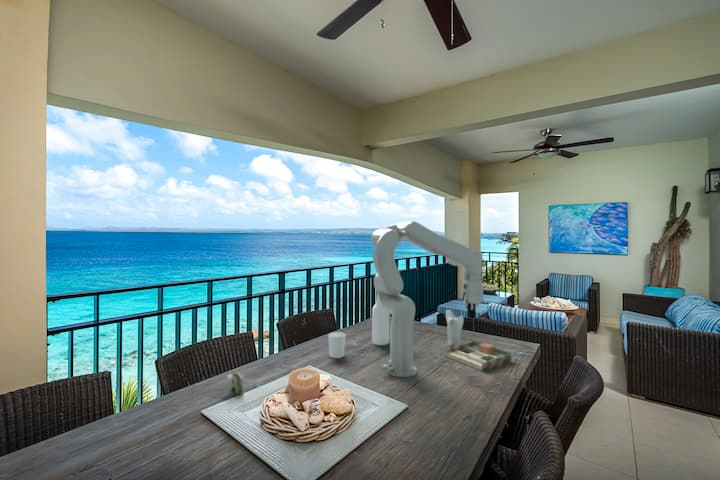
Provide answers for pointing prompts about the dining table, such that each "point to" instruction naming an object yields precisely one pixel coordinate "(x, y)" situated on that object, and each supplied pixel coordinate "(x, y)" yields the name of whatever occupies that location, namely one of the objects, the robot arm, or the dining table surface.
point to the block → (486, 348)
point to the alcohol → (380, 324)
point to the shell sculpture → (453, 328)
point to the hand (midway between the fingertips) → (471, 317)
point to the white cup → (336, 344)
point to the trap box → (478, 356)
